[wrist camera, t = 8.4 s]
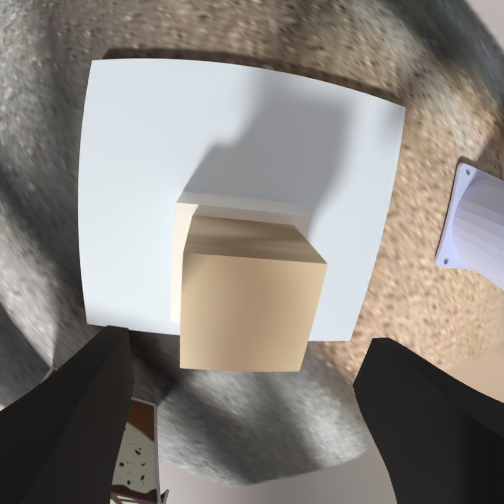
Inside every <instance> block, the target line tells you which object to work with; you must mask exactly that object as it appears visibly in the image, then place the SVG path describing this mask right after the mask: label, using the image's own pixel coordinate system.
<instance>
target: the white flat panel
mask: <svg viewBox="0 0 504 504" xmlns="http://www.w3.org/2000/svg"><path fill="white" fill-rule="evenodd" d="M405 109H406V107H403V106H400V105H398V104H395V103H392V102H389V101H387V100H384V99H381V98H378V97H375V96H372V95H369V94H366V93H362V92H359V91H356V90H353V89H349V88H346V87H342V86H339V85H335V84H331V83H328V82H324V81H320V80H316V79H311V78H307V77H303V76H298V75H294V74H289V73H284V72H279V71H273V70H268V69H262V68H256V67H249V66H242V65H235V64H226V63H217V62H207V61H195V60H179V59H109V60H93V61H92V65H91V70H90V75H89V81H88V87H87V93H86V100H85V107H84V115H83V124H82V134H81V146H80V161H79V185H78V224H79V248H80V264H81V276H82V286H83V295H84V303H85V311H86V318H87V324H92V325H98V326H105V327H106V326H107V325H111V326H118V327H126V328H129V330H135V331H144V332H153V333H162V334H172V335H180V323H179V322H171V279H172V255H173V237H174V222H175V209H176V202H177V200H178V198H179V197H180V195H181V193H182V191H188V192H199V193H209V194H219V195H229V196H238V197H247V198H255V199H264V200H272V201H280V202H288V203H295V204H296V205H297V206H298V207H299V208H301V209H302V210H303V211H304V212H305V213H307V214H308V215H309V216H310V217H311V219H310V224H309V230H308V235H307V241H308V242H309V243H310V244H311V245H312V246H313V247H314V249H315V250H316V251H317V252H318V253H319V254H320V255H321V257H322V258H323V259H324V260H325V261H326V262H327V264H328V266H327V270H326V274H325V278H324V283H323V287H322V291H321V295H320V299H319V303H318V306H317V310H316V314H315V318H314V322H313V325H312V329H311V333H310V336H309V340H308V341H349V340H350V339H351V336H352V333H353V330H354V327H355V324H356V321H357V318H358V315H359V312H360V309H361V306H362V303H363V300H364V297H365V294H366V291H367V287H368V284H369V281H370V277H371V274H372V270H373V267H374V263H375V260H376V256H377V252H378V249H379V245H380V241H381V237H382V233H383V229H384V225H385V221H386V217H387V212H388V208H389V203H390V199H391V194H392V189H393V184H394V179H395V174H396V168H397V163H398V157H399V151H400V145H401V139H402V132H403V125H404V117H405Z"/></svg>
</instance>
